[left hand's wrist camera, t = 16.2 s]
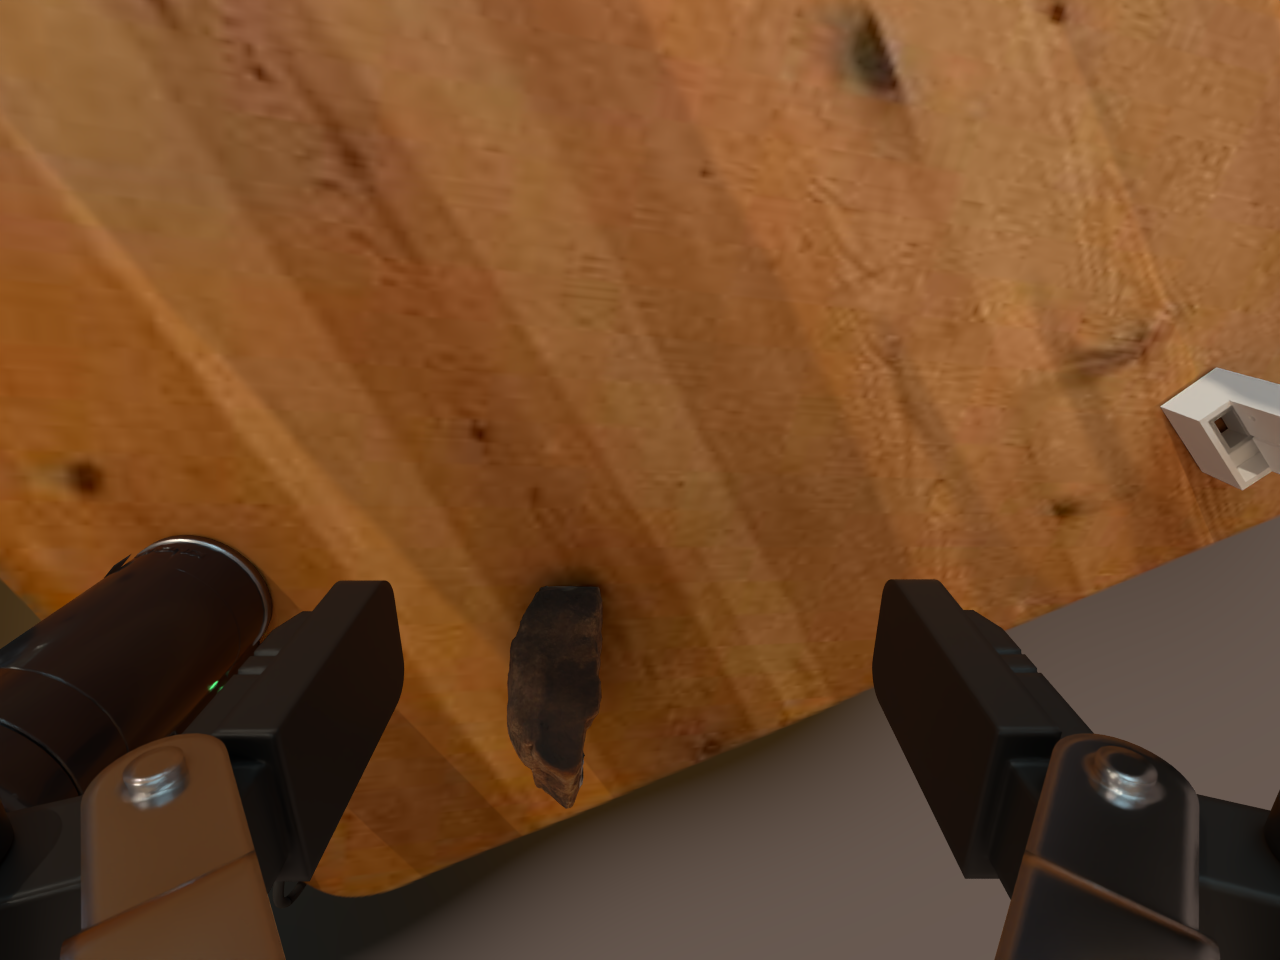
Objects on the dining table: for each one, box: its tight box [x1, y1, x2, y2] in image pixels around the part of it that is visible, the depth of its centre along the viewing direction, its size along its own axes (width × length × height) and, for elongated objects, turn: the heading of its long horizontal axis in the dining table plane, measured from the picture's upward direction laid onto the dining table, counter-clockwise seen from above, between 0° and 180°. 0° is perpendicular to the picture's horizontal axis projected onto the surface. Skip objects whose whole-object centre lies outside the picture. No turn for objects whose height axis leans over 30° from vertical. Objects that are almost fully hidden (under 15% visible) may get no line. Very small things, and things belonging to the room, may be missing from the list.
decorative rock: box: [507, 586, 602, 809], centre depth 44 cm, size 12×6×11 cm, turn 170°
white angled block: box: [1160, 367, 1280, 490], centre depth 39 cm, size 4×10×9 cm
